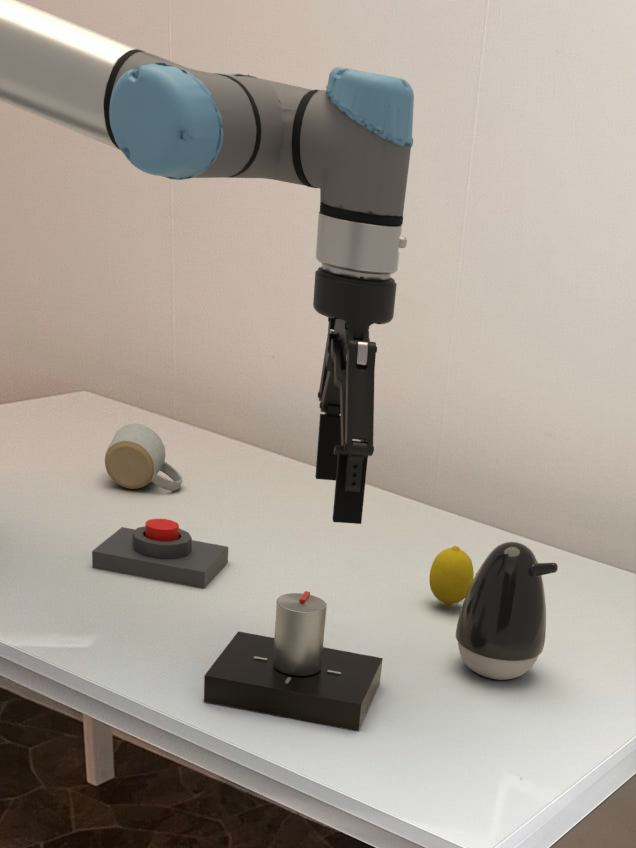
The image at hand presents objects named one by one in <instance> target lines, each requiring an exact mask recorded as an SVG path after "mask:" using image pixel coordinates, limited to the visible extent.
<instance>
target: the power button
mask: <svg viewBox="0 0 636 848" xmlns="http://www.w3.org/2000/svg"><path fill="white" fill-rule="evenodd" d="M144 524H145V525H144V526H145V537H146V538H149V539H151V540H156V541H174V540H178V539H179V528H180V525H179V523H178V522H177V521H174V520H171V519H167V518H152V519H148V520H146V521H145V523H144Z"/></svg>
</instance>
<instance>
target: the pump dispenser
mask: <svg viewBox="0 0 636 848" xmlns="http://www.w3.org/2000/svg"><path fill="white" fill-rule="evenodd" d="M558 568H559V566H558V564H557V562H538V559H537V557H536V555H535V554H534V552H533V550H531V548H529V547H528V546H527V545H525V544H524V543H520V542H518V541H507V542H502V543H500V544H499V545H497V546H496V547H494V548H493V549H492V550H491V552H490V553H489V554H488V555H487V557H485V559H484V561H483V562H482V564H481V565H480V566H479V568H478V570H477V572H476V573H475V575H474V577H473V581H472V583H471V585H470V588H469V590H468V592H467V595H466V597H465V599H463V603H462V607H461V609H460V612H459V616H458V620H457V623H456V630H455V639H456V641H457V646H458V651H459V655H460V657H461V659H462V661H463V663H464V664H465V665H466V666H467V667H468V668H469V669H470V670H471V671H472V672H474V673H476V674H477V675H479V676H481V677H484V678H487V679H491V680H497V681H498V680H499V681H505V680H511V679H512V680H513V679H516V678H519V677H522V676H524V674H526V673H527V672H529V671H530V670H531V669H532V668H533V667H534V665H535V663H536V661H537V660H538V658H539V656H540V655H541V654H542V653H543V652H544V647H545V642H546V634H547V633H546V630H547V602H546V594H545V587H544V582H543V581H544V580H543V576H545V575H549V574H555V573H557V571H558Z"/></svg>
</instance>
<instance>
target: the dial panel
mask: <svg viewBox="0 0 636 848" xmlns="http://www.w3.org/2000/svg"><path fill="white" fill-rule="evenodd" d="M274 638H275V637H271V636H265V635H260V634H256V633H250V632H244V631H239V630H238V631H237V632H236V634H235V635H234V636H233V637H232V638H231V640H230V641H229V643H228V644H227V645H226V647H225V648H224V649H223V651H222V652H221V653H220V655H219V656H218V657H217V659H216V660H215V661H214V662H213V663H212V665H211V666H210V667H209V669H208V670H207V672H206V673H205V674H204V675H203V676H204V679H203V680H204V681H203V682H204V683H203V703H207V704H212V705H218V706H223V707H229V708H234V709H238V710H239V709H240V710H244V711H249V712H256V713H260V714H266V715H271V716H276V717H280V718H281V717H282V718H288V719H291V720H292V719H293V720H297V721H298V720H299V721H303V722H307V723H308V722H309V723H312V724H313V723H315V724H318V725H325V726H329V725H330V726H329V727H335V726H336V728H340V727H342V728H341V729H345V728H347V729H346V730H351V729H352V730H351V731H356V730H357V731H356V732H359V730H360V728H361V726H362V724H363V722H364V720H365V718H366V715H367V713H368V711H369V709H370V706H371V704H372V702H373V700H374V697H375V695H376V693H377V691H378V689H379V686H380V684H381V676H382V669H383V659H384V658H383V657H379V656H374V655H373V656H372V655H366V654H362V653H358V652H357V653H356V652H353V651H352V652H351V651H347V650H341V649H335V648H331V647H325V646H323V654H322V666H321V670H320V671H319V672H318V673H316V674H313V675H309V676H294V675H289V674H285V673H282V672H280V671H278V670H277V669H276V668H275V667H274V665H273V654H274Z"/></svg>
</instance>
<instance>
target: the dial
mask: <svg viewBox="0 0 636 848" xmlns="http://www.w3.org/2000/svg"><path fill="white" fill-rule="evenodd" d="M327 606H328V605H327V603H326V601H325V600H324V599H322V598H320V597H318V596H315V595H313V594H311V591H307V590H305V591H304V592H303V593H297V592H293V593H292V592H291V593H285V594H282V595H280V596H278V598H277V599H276V605H275V622H274V623H275V624H274V637H273V638H274V654H273V665H274V667H275V668H276V669H277V670H278V671H280V672H282V673H285V674H289V675H294V676H309V675H313V674H316V673H318V672H319V671H320V670H321V666H322V654H323V647H324V641H325V629H326V617H327Z"/></svg>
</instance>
